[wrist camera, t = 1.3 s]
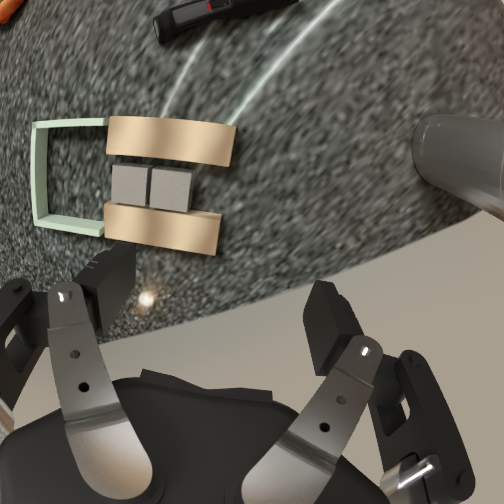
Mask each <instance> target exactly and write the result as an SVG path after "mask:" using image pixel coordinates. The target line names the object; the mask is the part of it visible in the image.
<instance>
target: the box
mask: <svg viewBox="0 0 504 504" xmlns="http://www.w3.org/2000/svg"><path fill="white" fill-rule="evenodd" d="M109 120H110V118H82V119H62V120H49V121H40V122H33V124H32V137H31V194H32V209H33V219H34V225H35V226H40V227H46V228H51V229H57V230H63V231H68V232H74V233H80V234H85V235H91V236H97V237H100V236H101V235H102V234H103V233H104V232H105V227H104V222H101V221H95V220H88V219H81V218H75V217H68V216H61V215H54V214H48V202H47V141H48V128H49V127H66V126H107V125H109Z"/></svg>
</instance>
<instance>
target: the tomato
mask: <svg viewBox="0 0 504 504" xmlns="http://www.w3.org/2000/svg"><path fill="white" fill-rule="evenodd" d="M23 1H24V0H0V22H1V23H7V21H8V20H9V18H10V16H11V15H12V14H13V12H15V10H16V9H18V7H19V5H20V4H21V3H22V2H23Z"/></svg>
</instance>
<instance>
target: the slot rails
mask: <svg viewBox="0 0 504 504" xmlns="http://www.w3.org/2000/svg"><path fill="white" fill-rule="evenodd" d="M236 128H237V126H230V125H223V124H216V123H208V122H200V121H191V120H181V119H169V118H154V117H129V116H110V120H109V129H108V138H107V149H106V154H116V155H131V156H143V157H154V158H164V159H173V160H182V161H190V162H197V163H205V164H212V165H219V166H225V167H229V165H230V161H231V156H232V150H233V145H234V139H235V134H236ZM149 206H150V204H147V205H146V206H139V205H131V204H123V203H115V202H111V200H109V201H108V202H106V203H105V204H104V227H105V238H111V239H117V240H123V241H129V242H135V243H141V244H147V245H153V246H159V247H165V248H171V249H177V250H183V251H189V252H195V253H202V254H208V255H214V256H215V253H216V249H217V243H218V236H219V229H220V223H221V216H222V214H216V213H210V212H203V211H197V210H190V209H189V210H188V211H187V212H180V211H173V210H166V209H159V208H152V207H149Z"/></svg>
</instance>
